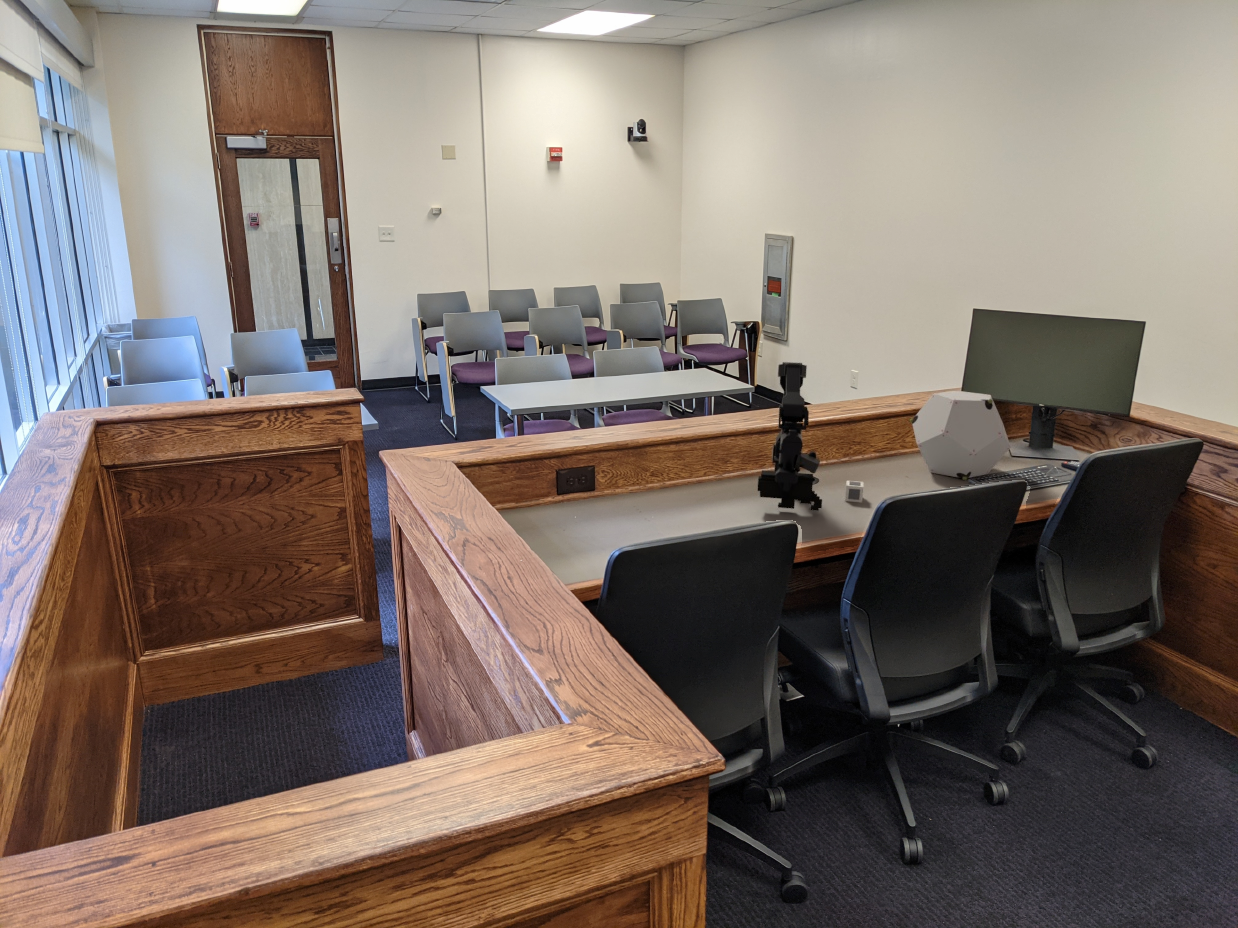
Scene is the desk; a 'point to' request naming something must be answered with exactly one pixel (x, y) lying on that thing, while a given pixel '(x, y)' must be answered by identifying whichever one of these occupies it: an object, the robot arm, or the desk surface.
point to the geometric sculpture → (960, 434)
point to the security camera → (798, 491)
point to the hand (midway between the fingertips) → (786, 496)
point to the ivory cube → (854, 491)
